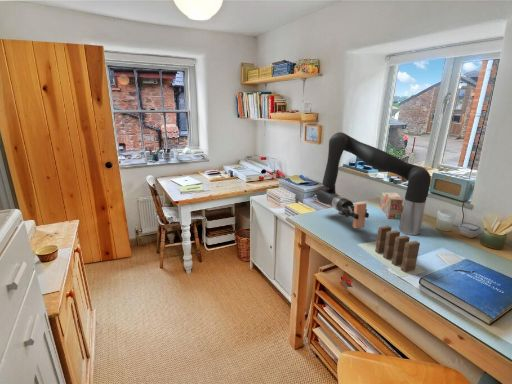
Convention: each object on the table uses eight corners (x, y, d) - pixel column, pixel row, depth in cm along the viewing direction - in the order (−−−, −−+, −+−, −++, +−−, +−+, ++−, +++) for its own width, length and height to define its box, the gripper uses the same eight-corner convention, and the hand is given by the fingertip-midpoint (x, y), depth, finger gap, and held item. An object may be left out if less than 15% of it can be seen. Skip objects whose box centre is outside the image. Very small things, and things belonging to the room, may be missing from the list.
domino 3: (391, 263, 117) (395, 236, 113) (401, 261, 118) (405, 235, 115) (395, 265, 115) (399, 239, 112) (405, 263, 117) (409, 237, 113)
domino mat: (357, 245, 133) (357, 244, 132) (378, 241, 136) (378, 240, 136) (400, 277, 108) (401, 276, 108) (425, 272, 111) (425, 271, 111)
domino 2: (382, 257, 122) (386, 231, 118) (392, 255, 123) (396, 230, 119) (386, 259, 120) (390, 233, 116) (396, 257, 121) (400, 232, 117)
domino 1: (375, 251, 126) (378, 226, 122) (384, 249, 128) (388, 225, 124) (378, 253, 124) (381, 228, 121) (387, 251, 126) (391, 227, 122)
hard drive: (474, 270, 111) (455, 253, 123) (452, 269, 112) (435, 253, 123) (473, 273, 112) (454, 256, 123) (452, 272, 112) (435, 256, 124)
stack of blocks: (379, 206, 182) (381, 187, 178) (389, 206, 181) (392, 188, 177) (388, 219, 162) (391, 198, 158) (399, 219, 161) (403, 199, 157)
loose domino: (352, 226, 136) (354, 203, 132) (361, 225, 137) (363, 201, 134) (355, 228, 134) (357, 204, 131) (364, 226, 136) (366, 203, 132)
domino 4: (400, 269, 112) (405, 242, 109) (410, 267, 114) (415, 240, 110) (404, 272, 111) (409, 245, 107) (414, 270, 112) (420, 243, 108)
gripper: (330, 199, 144) (350, 211, 128) (354, 196, 148) (377, 207, 132) (329, 213, 146) (349, 226, 131) (353, 209, 150) (375, 222, 134)
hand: (363, 216), depth 131 cm, fingers closed on loose domino, 5 cm apart
